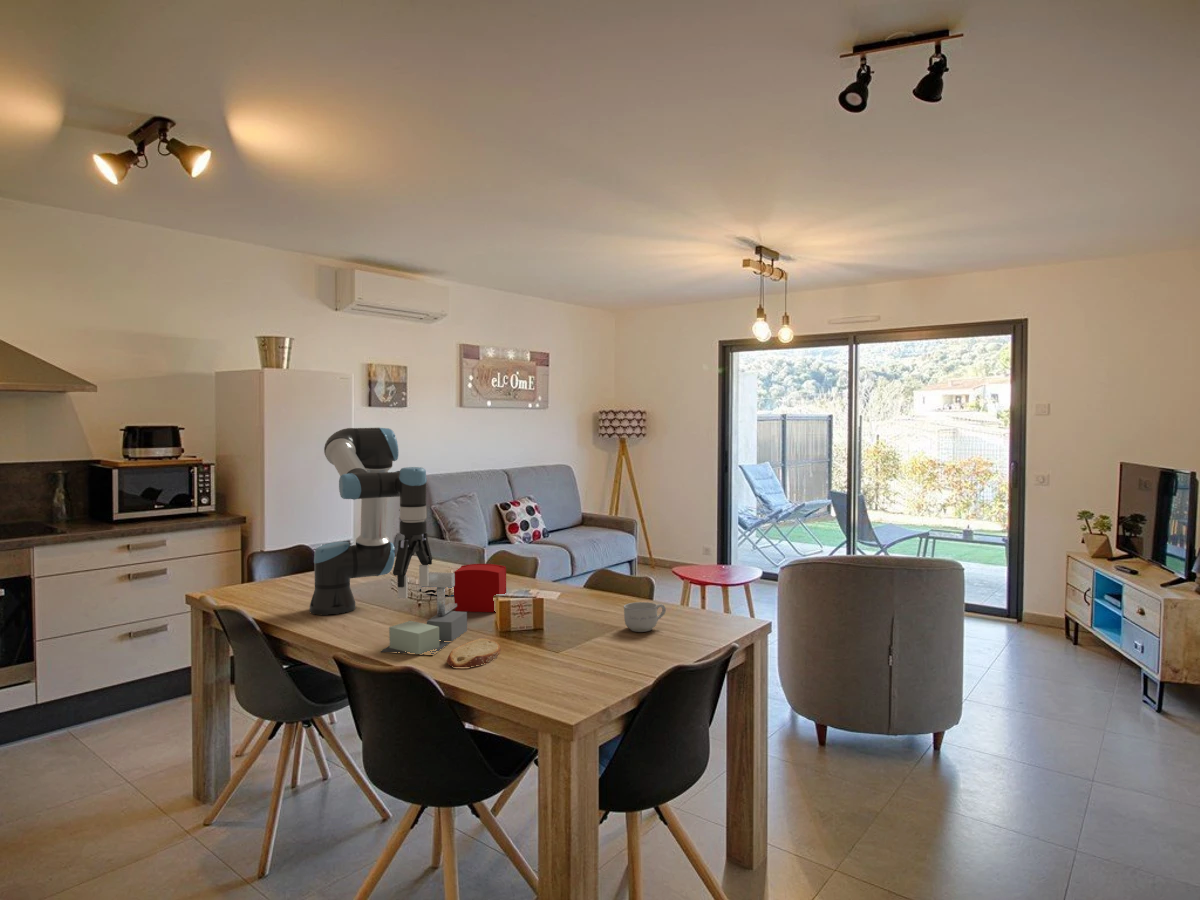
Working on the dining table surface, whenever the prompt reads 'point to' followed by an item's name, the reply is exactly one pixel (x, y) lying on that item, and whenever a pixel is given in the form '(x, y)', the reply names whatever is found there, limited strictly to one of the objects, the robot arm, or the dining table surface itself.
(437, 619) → the block
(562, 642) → the dining table surface
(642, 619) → the teacup
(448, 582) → the t key
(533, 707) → the dining table surface
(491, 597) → the maroon rounded cube
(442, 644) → the mat
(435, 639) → the pale green block
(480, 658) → the bread slice
